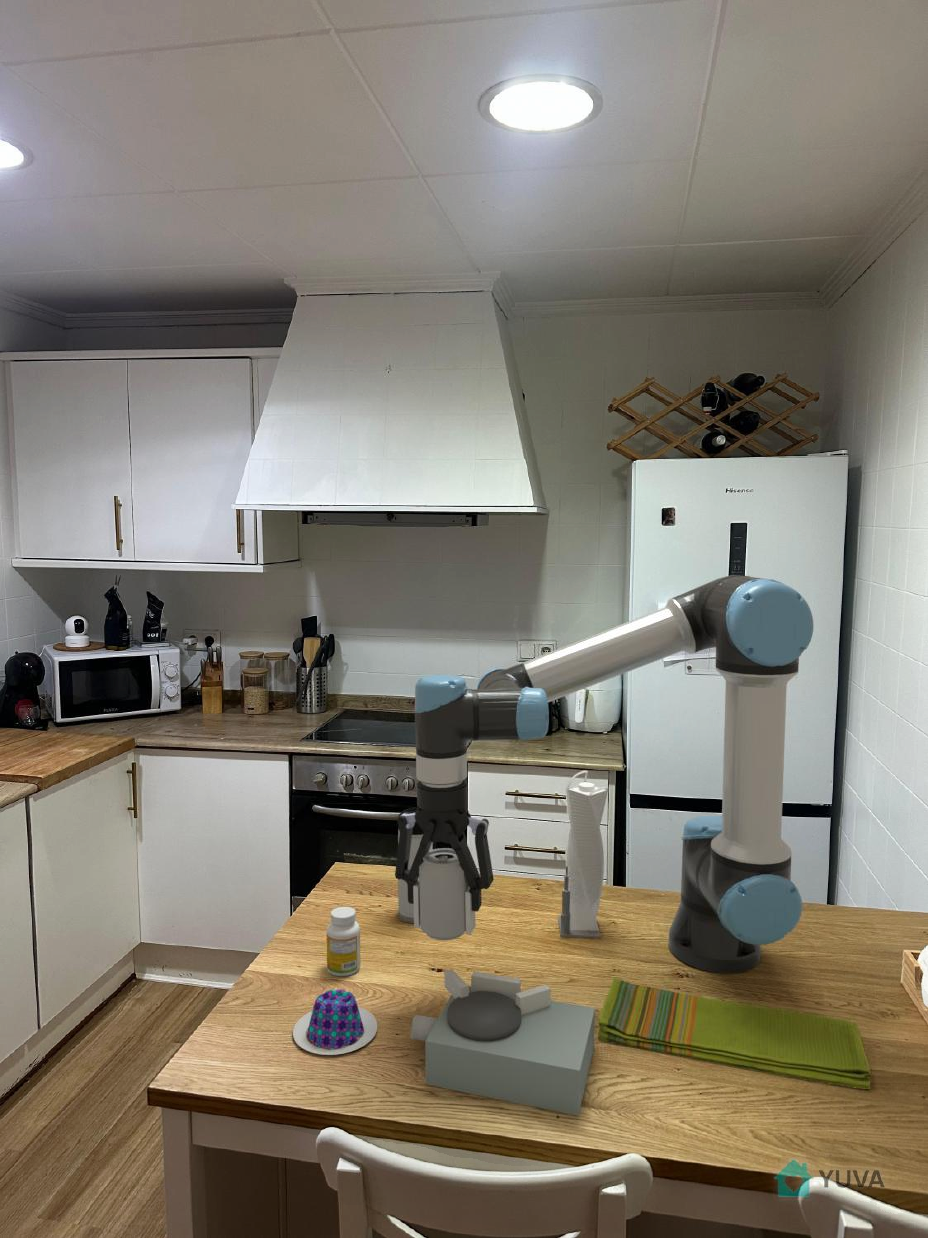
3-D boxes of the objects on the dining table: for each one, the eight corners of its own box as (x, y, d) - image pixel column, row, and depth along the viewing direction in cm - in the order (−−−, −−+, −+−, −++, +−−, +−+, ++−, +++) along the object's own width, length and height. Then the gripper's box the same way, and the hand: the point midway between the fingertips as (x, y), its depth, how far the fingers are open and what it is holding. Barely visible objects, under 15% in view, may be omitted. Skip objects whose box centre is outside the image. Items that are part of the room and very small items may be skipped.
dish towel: (609, 987, 134) (610, 968, 134) (855, 1029, 124) (857, 1008, 123) (595, 1044, 119) (596, 1023, 119) (872, 1097, 109) (874, 1074, 109)
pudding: (387, 1014, 126) (387, 981, 125) (362, 1065, 114) (362, 1029, 113) (311, 1005, 128) (311, 972, 127) (279, 1054, 116) (278, 1018, 116)
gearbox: (593, 1048, 118) (595, 991, 117) (578, 1116, 104) (580, 1051, 103) (430, 1018, 124) (430, 964, 123) (396, 1078, 111) (396, 1017, 110)
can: (471, 920, 131) (470, 845, 130) (467, 944, 124) (465, 865, 122) (424, 918, 132) (422, 844, 130) (416, 942, 125) (414, 864, 123)
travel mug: (439, 912, 158) (440, 809, 155) (419, 927, 152) (419, 819, 150) (412, 904, 161) (412, 803, 159) (391, 918, 155) (391, 813, 153)
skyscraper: (557, 914, 157) (560, 768, 154) (601, 916, 157) (605, 769, 154) (560, 937, 149) (564, 783, 146) (606, 938, 149) (611, 784, 145)
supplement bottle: (336, 957, 141) (336, 902, 140) (365, 963, 140) (365, 907, 138) (321, 973, 136) (320, 916, 135) (351, 980, 135) (350, 922, 133)
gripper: (514, 777, 126) (516, 923, 128) (387, 768, 131) (391, 908, 134) (502, 793, 119) (504, 947, 121) (368, 782, 124) (372, 930, 127)
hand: (444, 926), depth 128 cm, fingers closed on can, 7 cm apart
